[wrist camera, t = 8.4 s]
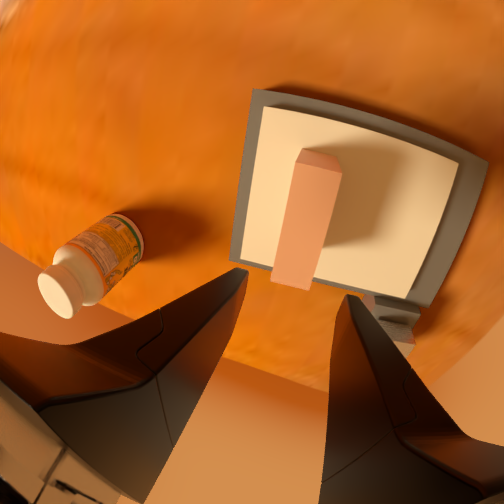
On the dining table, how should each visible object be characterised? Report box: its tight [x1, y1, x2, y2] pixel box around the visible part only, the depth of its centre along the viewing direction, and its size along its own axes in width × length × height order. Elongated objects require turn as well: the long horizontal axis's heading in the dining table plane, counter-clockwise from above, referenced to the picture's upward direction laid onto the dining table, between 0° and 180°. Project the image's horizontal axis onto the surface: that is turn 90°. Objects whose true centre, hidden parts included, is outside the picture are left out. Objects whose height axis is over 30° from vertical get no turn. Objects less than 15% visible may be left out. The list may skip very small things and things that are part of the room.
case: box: [229, 89, 489, 329], centre depth 19 cm, size 16×20×3 cm
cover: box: [240, 106, 459, 299], centre depth 15 cm, size 12×10×6 cm
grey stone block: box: [376, 319, 416, 358], centre depth 19 cm, size 3×5×2 cm, turn 171°
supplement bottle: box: [38, 214, 144, 319], centre depth 21 cm, size 5×5×10 cm
